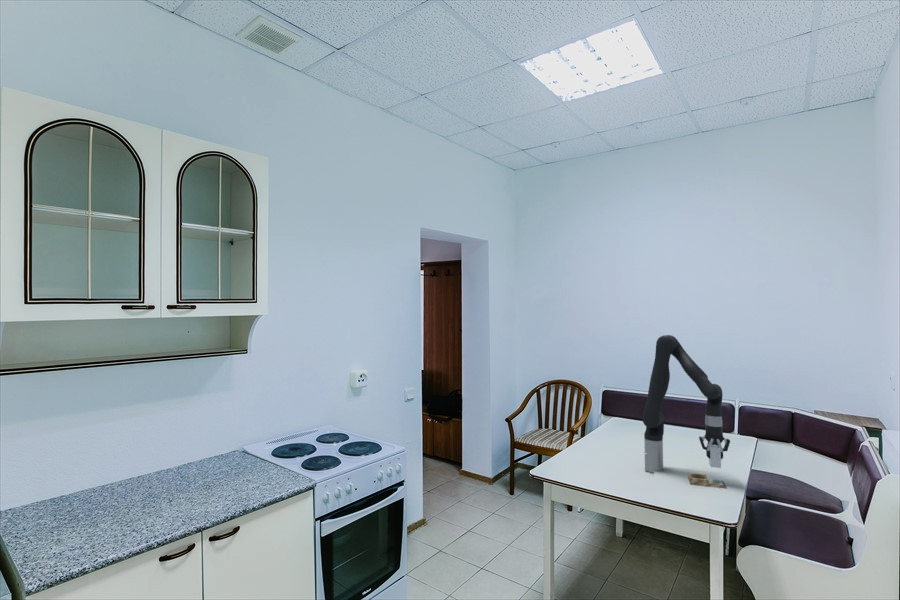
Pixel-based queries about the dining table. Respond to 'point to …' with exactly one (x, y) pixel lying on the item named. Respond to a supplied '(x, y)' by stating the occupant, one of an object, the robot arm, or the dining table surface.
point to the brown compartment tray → (705, 481)
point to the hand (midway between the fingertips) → (714, 458)
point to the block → (715, 456)
